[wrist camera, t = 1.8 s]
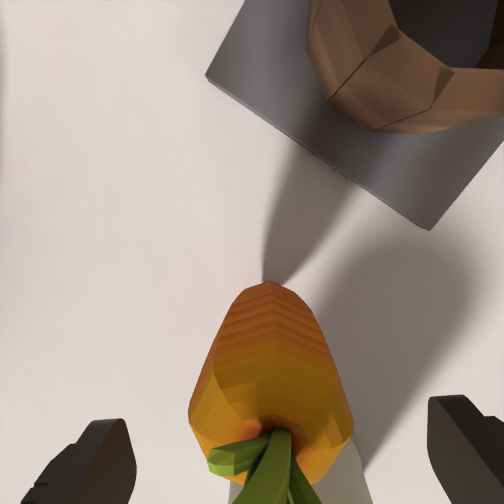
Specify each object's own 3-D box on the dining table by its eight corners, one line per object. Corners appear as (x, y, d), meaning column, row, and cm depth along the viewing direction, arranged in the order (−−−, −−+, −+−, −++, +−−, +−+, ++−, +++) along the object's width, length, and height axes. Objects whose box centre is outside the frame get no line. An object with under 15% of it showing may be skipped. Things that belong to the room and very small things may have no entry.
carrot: (304, 330, 20) (412, 759, 5) (225, 325, 20) (122, 731, 6) (312, 254, 19) (476, 541, 4) (227, 249, 19) (103, 510, 4)
